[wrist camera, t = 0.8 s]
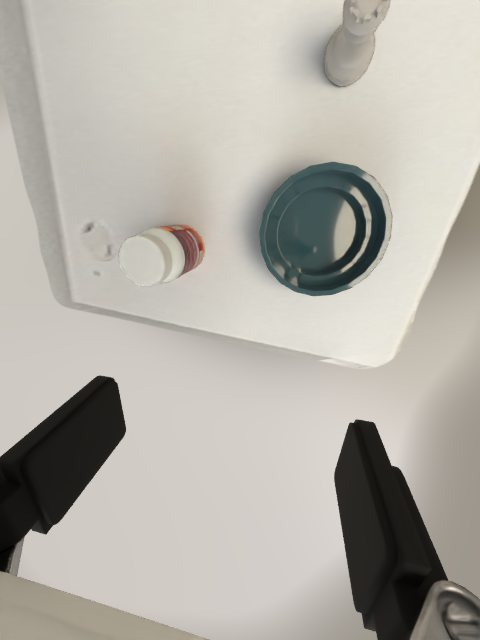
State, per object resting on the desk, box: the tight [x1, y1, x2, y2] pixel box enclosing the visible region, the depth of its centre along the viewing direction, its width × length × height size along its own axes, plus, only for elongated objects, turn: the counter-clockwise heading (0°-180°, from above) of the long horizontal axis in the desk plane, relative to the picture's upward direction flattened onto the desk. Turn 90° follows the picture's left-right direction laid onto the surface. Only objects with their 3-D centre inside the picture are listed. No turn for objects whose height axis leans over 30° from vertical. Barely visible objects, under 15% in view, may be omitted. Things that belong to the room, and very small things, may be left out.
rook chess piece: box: [324, 0, 390, 86], centre depth 21 cm, size 4×4×8 cm
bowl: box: [260, 162, 392, 296], centre depth 29 cm, size 13×13×6 cm
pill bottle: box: [119, 225, 205, 286], centre depth 30 cm, size 6×6×11 cm
